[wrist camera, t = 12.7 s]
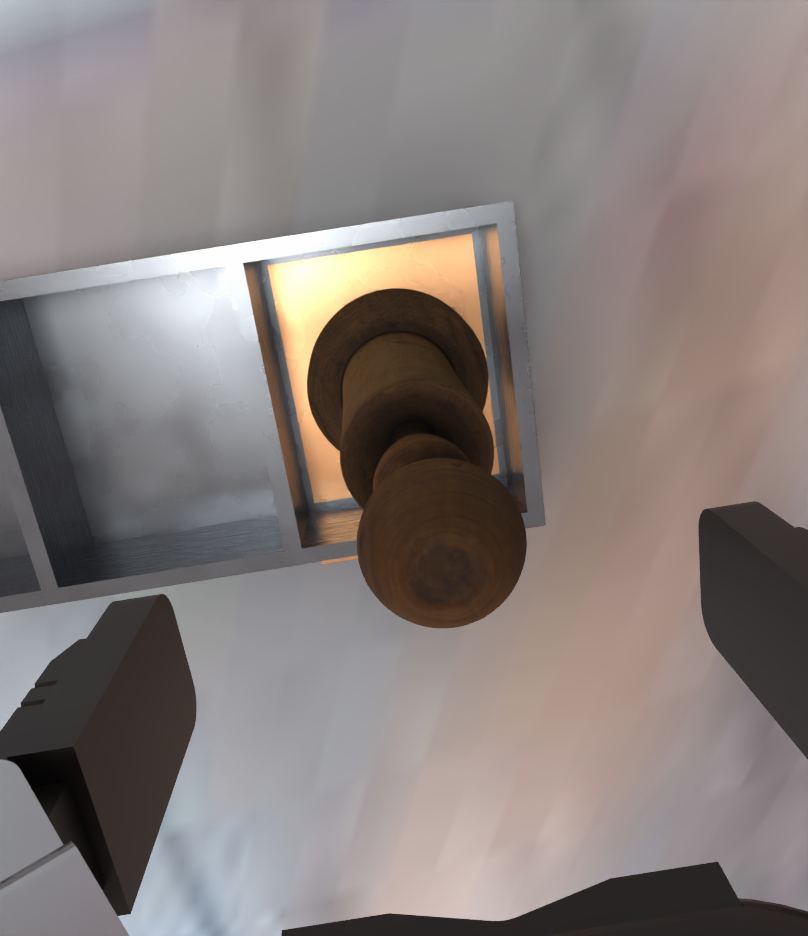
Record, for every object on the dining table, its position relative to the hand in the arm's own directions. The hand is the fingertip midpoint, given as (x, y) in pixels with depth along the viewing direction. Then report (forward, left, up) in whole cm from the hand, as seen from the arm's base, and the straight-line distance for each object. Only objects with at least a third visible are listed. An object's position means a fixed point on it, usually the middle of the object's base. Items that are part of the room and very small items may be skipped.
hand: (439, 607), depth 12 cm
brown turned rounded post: (0, 0, -19) cm, 19 cm away
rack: (+9, 0, -20) cm, 22 cm away
